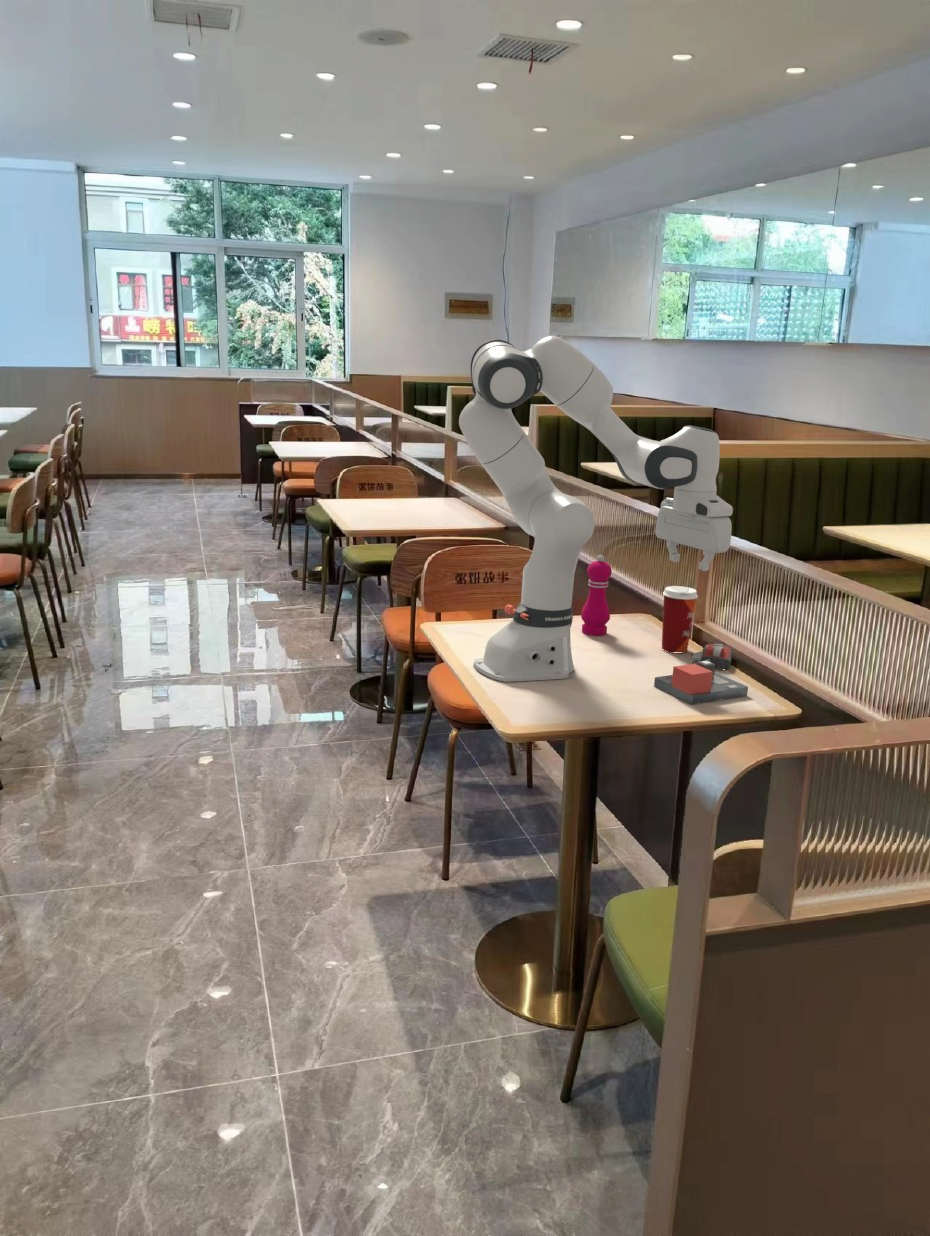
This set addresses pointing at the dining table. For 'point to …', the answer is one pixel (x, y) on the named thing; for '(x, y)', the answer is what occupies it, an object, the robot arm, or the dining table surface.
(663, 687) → the panel
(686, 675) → the cap
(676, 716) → the dining table surface
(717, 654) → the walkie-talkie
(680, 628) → the coffee cup
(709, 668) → the block
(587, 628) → the pepper mill
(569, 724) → the dining table surface
